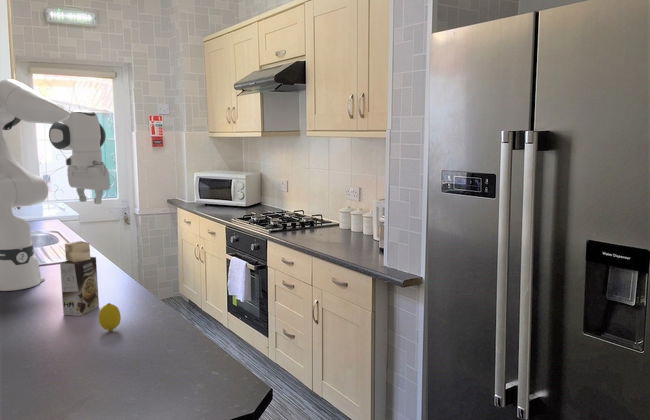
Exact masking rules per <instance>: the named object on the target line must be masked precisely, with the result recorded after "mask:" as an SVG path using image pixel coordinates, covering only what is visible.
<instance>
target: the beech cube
mask: <svg viewBox="0 0 650 420" xmlns="http://www.w3.org/2000/svg"><path fill="white" fill-rule="evenodd" d="M64 251H65V261H71V262H79V261H84V260H89V259H90V257H91V248H90V242H86V241H83V240H80V241H79V240H78V241H73V242H67V243H64Z"/></svg>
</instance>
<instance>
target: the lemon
mask: <svg viewBox="0 0 650 420" xmlns="http://www.w3.org/2000/svg"><path fill="white" fill-rule="evenodd" d="M121 317H122V316H121V312H120V309H119V307H118V306H117V305H115V304H112V303H111V302H109V303H107V304H105V305H103V307H102V308H100V310H99V315H98V322H99V324H100V326H101V328H102V329H104V330H107V331H108V332H113V330H114V329H116V328H117V327H118V326H119V325H120V323H121V319H122V318H121Z"/></svg>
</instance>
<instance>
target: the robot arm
mask: <svg viewBox="0 0 650 420" xmlns="http://www.w3.org/2000/svg"><path fill="white" fill-rule="evenodd" d="M21 121H23V122H27V123H31V124H32V123H33V124H35V123H36V124H49V125H51V126H50V128H49V131H48V137H49V141H50V143H51V146H53V147H54V148H55V149H57V150H61V151H71V153H72V155H70V156H69V157H67V158H66V159H65V166H67V169H66V170H67V181H68V185H69V186H70V187H71V188H74V189H76V194H77V195H78V200H79V202H80V203H81V202H82V203H83V202H87V195H86V194H85V190H90V191H94V194H95V198H93V202H94V204H96V205H101V204H102V203H103V201H102V198H103V195H104V192H105V191H109V190H110V188H111V180H110V174H109V173H110V172H109V170H108V168H107V166H106V165H105V163H104V161H103V156H102V155H103V151H102V146H103V145H104V143H105V141H106V138H107V137H106V135H107V134H106V131H105V129H104V127H103V126H102V124H101V123H100V121H99V117H98V115H97V113H96V112H94V111H91V110H84V109H74V110H70V109H68V108H67V107H64V106H62V105H60V104H58V103H56V102H55V101H52V100H50V99H49V98H47V97H45V96H44V95H42V94H41V93H38V92H37V91H35V90H33V89H32V88H31V87H29V86H28V85H26V84H24V83H22V82H20V81H18V80H15V79H11V78H7V79H6V78H5V79H2V80H0V291H1V292H7V291H9V292H10V291H20V290H24V289H29V288H33V287H35V286H37V285H38V286H39V284H41V282H43V281H45V277H44V276H42V275H41V269H40V264H39V262H40V261H39V259H38V258H37V257H35V256H34V255H35V248H34V245H33V243H32V233H31V226H30V224H29V222H28V221H27V220H25V219H23V218H21V217H18V216H15V215H14V214H13V210H12V208H18V207H20V208H21V207H30V206H34V205H37V204H40V203H43V202H45V200H46V199H47V198H48V195H49V185H48V183H47V182H46V180H45V179H44V178H43V177H42V176H39V175H36V174H34V173H32V172H30V171H29V170H27V169H26V168H24V167H23V166H22V165H21V164H20V163H19V162H18V161H17V160H16V159H15V157H14V155H13V153H12V152H11V150H10V148H9V146H8V143H7V141H6V139H5V137H4V135H3V131H9V130H11V129H12V128H14V127H15V126H17V125H18V124H19V123H20V122H21Z"/></svg>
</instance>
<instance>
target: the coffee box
mask: <svg viewBox="0 0 650 420" xmlns="http://www.w3.org/2000/svg"><path fill="white" fill-rule="evenodd" d="M59 265H60V280H61V295H62V296H61V298H62V310H63V312H62V313H63V316H74V317H76V316H77V317H82V316H85V315H86V314H88V313H90V312H92V311H94V310H96V309H98V308H100V301H99V299H100V298H99V286H98V270H97V266H98V265H97V257H96V256H90V259H89V260H84V261H79V262H71V261H68V260H64V261H63V262H60V263H59Z"/></svg>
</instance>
